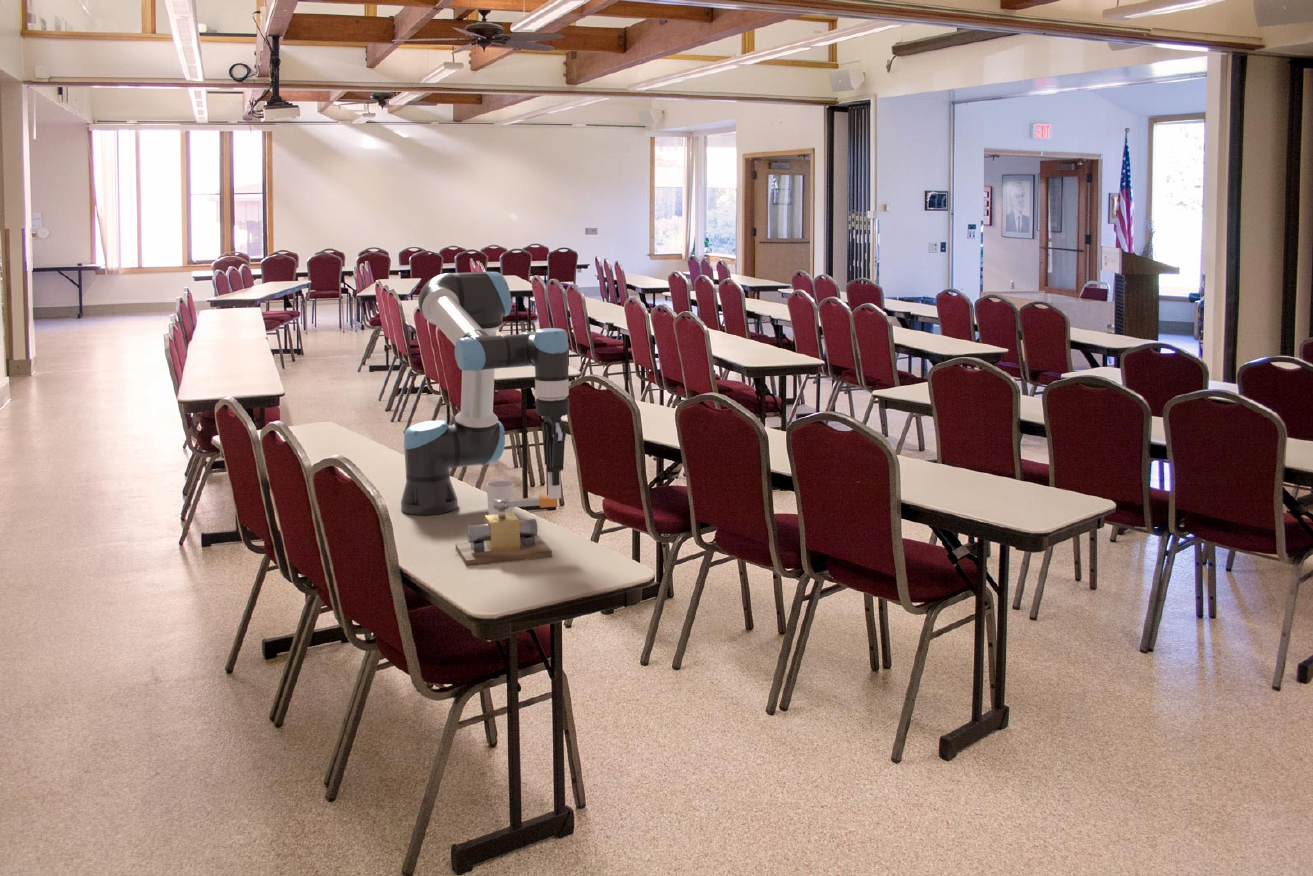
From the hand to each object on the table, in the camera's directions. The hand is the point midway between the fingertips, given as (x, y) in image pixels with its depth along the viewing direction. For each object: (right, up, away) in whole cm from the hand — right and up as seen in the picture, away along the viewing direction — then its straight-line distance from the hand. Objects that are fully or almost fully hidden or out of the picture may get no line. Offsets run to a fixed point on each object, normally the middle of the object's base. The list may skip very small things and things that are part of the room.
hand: (554, 497), depth 260 cm
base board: (-13, -13, +6) cm, 20 cm away
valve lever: (-7, -2, +5) cm, 9 cm away
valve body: (-13, -12, +6) cm, 18 cm away
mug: (-16, -9, +27) cm, 33 cm away
